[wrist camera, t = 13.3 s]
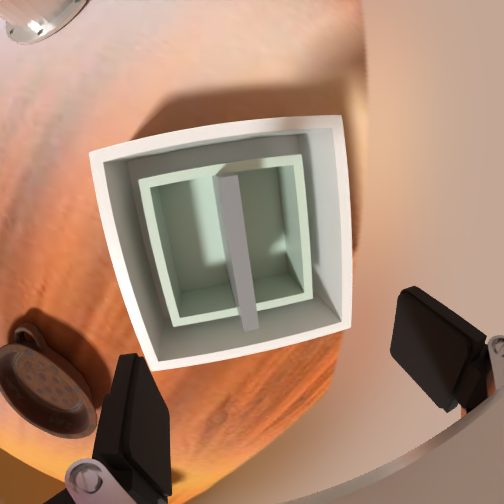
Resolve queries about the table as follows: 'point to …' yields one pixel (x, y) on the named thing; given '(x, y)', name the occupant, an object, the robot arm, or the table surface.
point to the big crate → (213, 152)
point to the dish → (45, 387)
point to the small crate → (230, 238)
